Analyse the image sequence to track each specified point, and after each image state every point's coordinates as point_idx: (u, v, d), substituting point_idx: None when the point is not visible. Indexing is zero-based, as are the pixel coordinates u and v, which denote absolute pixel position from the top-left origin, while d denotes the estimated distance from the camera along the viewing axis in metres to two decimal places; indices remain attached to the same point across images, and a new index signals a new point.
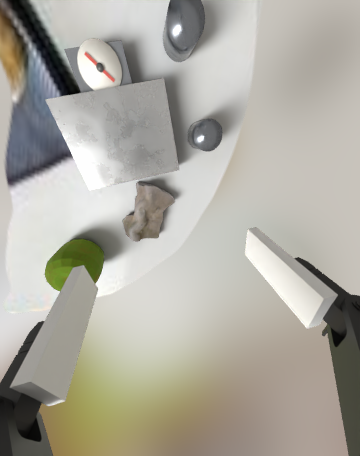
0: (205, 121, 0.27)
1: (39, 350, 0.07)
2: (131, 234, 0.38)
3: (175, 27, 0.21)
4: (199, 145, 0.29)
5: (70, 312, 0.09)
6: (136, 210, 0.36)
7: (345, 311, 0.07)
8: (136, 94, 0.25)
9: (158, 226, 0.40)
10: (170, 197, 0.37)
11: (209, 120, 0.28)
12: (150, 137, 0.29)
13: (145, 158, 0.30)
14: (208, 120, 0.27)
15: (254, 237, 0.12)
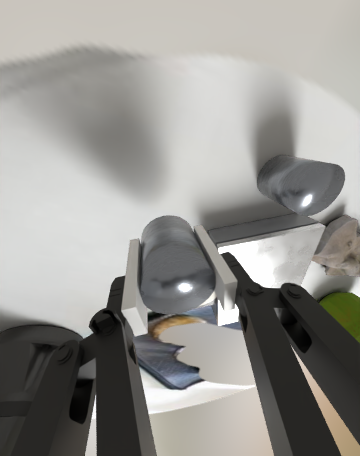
0: (295, 200, 0.15)
1: (132, 290, 0.09)
2: (356, 276, 0.29)
3: (191, 302, 0.11)
4: (322, 208, 0.16)
5: (140, 270, 0.11)
6: (333, 267, 0.28)
7: (243, 300, 0.08)
8: None
9: None
10: (346, 225, 0.24)
11: (296, 193, 0.15)
12: (271, 260, 0.22)
13: (289, 265, 0.23)
14: (296, 195, 0.15)
15: (196, 233, 0.14)
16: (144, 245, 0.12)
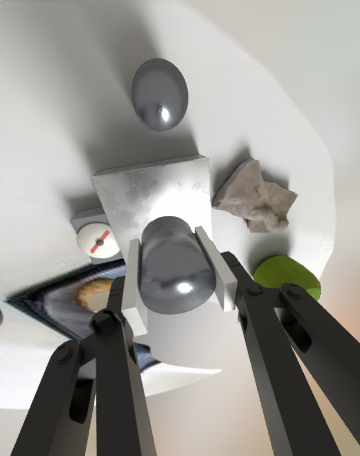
0: (137, 107, 0.14)
1: (132, 290, 0.09)
2: (275, 229, 0.29)
3: (191, 303, 0.11)
4: (176, 121, 0.15)
5: None
6: (247, 218, 0.27)
7: (243, 300, 0.08)
8: (117, 213, 0.21)
9: (282, 192, 0.26)
10: (248, 166, 0.23)
11: (134, 96, 0.14)
12: (162, 200, 0.21)
13: (187, 208, 0.22)
14: (134, 99, 0.14)
15: (196, 233, 0.14)
16: (144, 245, 0.12)
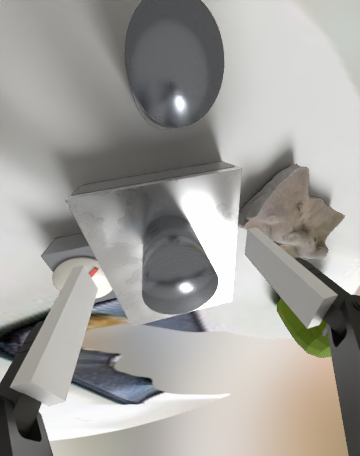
0: (134, 84, 0.08)
1: (39, 350, 0.07)
2: (310, 258, 0.22)
3: (193, 303, 0.11)
4: (201, 111, 0.09)
5: (70, 312, 0.09)
6: (280, 242, 0.20)
7: (345, 311, 0.07)
8: (107, 246, 0.15)
9: (327, 212, 0.20)
10: (294, 175, 0.17)
11: (130, 65, 0.08)
12: None
13: (205, 236, 0.16)
14: (130, 70, 0.08)
15: (254, 237, 0.12)
16: (146, 245, 0.12)
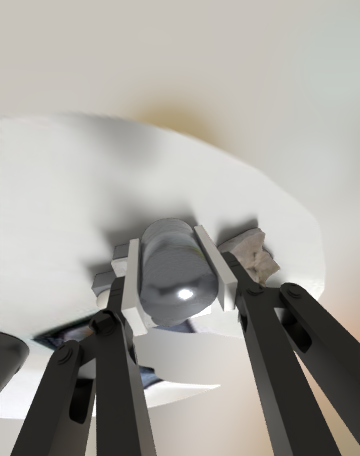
0: (147, 310, 0.10)
1: (131, 290, 0.09)
2: None
3: (178, 320, 0.21)
4: (201, 309, 0.11)
5: (139, 270, 0.11)
6: None
7: (243, 300, 0.08)
8: None
9: (270, 262, 0.31)
10: (256, 235, 0.27)
11: (143, 303, 0.10)
12: None
13: None
14: (144, 305, 0.10)
15: (196, 233, 0.14)
16: None
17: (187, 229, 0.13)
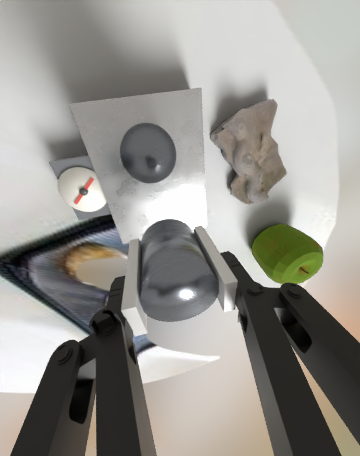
0: (147, 311, 0.10)
1: (132, 290, 0.09)
2: (254, 197, 0.27)
3: (161, 171, 0.15)
4: (201, 310, 0.11)
5: (139, 270, 0.11)
6: (239, 166, 0.24)
7: (243, 300, 0.08)
8: (100, 153, 0.19)
9: (277, 160, 0.26)
10: (267, 103, 0.22)
11: (144, 304, 0.10)
12: None
13: (178, 151, 0.20)
14: (144, 306, 0.10)
15: (196, 233, 0.14)
16: None
17: (187, 229, 0.13)
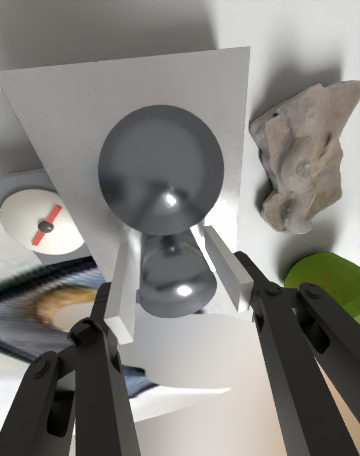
0: (146, 307, 0.10)
1: (116, 297, 0.09)
2: (295, 226, 0.19)
3: (193, 208, 0.07)
4: (199, 306, 0.11)
5: (127, 276, 0.11)
6: (286, 178, 0.16)
7: (260, 299, 0.08)
8: (67, 167, 0.11)
9: (335, 177, 0.18)
10: (350, 86, 0.13)
11: (142, 300, 0.10)
12: None
13: None
14: (143, 302, 0.10)
15: (207, 233, 0.14)
16: None
17: None
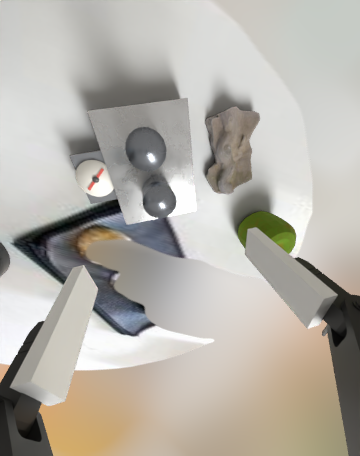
0: (146, 209, 0.24)
1: (39, 350, 0.07)
2: (223, 186, 0.32)
3: (158, 158, 0.21)
4: (170, 212, 0.25)
5: (70, 312, 0.09)
6: (219, 153, 0.29)
7: (345, 311, 0.07)
8: (109, 148, 0.24)
9: (248, 164, 0.32)
10: (253, 114, 0.28)
11: (144, 204, 0.23)
12: None
13: (170, 147, 0.26)
14: (144, 206, 0.23)
15: (254, 237, 0.12)
16: None
17: (164, 180, 0.27)
